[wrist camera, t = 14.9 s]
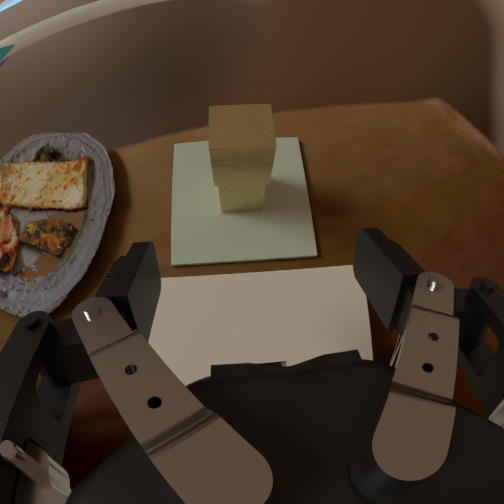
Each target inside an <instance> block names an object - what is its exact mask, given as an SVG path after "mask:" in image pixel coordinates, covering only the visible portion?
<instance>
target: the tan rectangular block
mask: <svg viewBox="0 0 504 504" xmlns="http://www.w3.org/2000/svg"><path fill="white" fill-rule="evenodd" d="M276 146H277V144H276V137H275V130H274V123H273V116H272V109H271V104H254V105H253V104H252V105H226V106H210V107H209V153H210V160H211V167H212V174H213V180H214V186H218V190H219V198H220V205H221V212H222V213H226V212H245V211H262V207H263V201H264V195H265V188H266V184H270V180H271V174H272V169H273V163H274V158H275V152H276Z"/></svg>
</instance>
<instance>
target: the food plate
mask: <svg viewBox="0 0 504 504" xmlns="http://www.w3.org/2000/svg"><path fill="white" fill-rule="evenodd" d="M79 132H80V131H53V132H44V134H43V133H41V134H35V135H32V136H30V137H28V138H26V139H24V140H23V141H21V142H20V143H19V144H17V145H16V146H14V148H12V149H11V150H10V151H9V152H8V153H6V154H5V155H4V156H3V157H1V158H0V309H1V310H3V311H6V312H7V313H10V314H13V315H15V316H16V315H18V317H21V318H22V317H24V316H25V315H27V314H29V313H31V312H34V311H45V312H47V313H48V314H49V313H50V312H52V311H53V310H54V309H55V308H57V307H58V306H59V305H60V304H61V302H62V301H63V300H64V299H65V298H66V297H67V294H68V293H69V291H70V290H72V288H73V287H74V286H75V285H76V284H77V283H78V282H79V281H80V280H81V278H82V277H83V275H84V273H85V272H86V271H87V268H88V266H89V264H90V263H91V261H92V259H93V257H94V255H95V253H96V252H97V249H98V247H99V244H100V241H101V238H102V235H103V232H104V230H105V229H104V227H105V225H106V223H107V220H108V216H109V213H110V210H111V205H112V203H113V200H114V195H115V184H114V178H113V175H114V174H113V169H112V168H113V167H112V165H111V160H110V158H109V156H108V153H107V151H106V150H105V148H104V147H103V146H102V144H101V143H100V142H99V141H97V140H96V139H94V138H92V137H91V136H90V135H89V134H87V133H79ZM93 179H94V180H93ZM84 209H86V210H85V212H84V215H83V219H82V222H81V225H80V229H79V231H78V235H77V237H76V242H75V245H74V247H73V248H72V249H71V251H70V253H69V255H68V256H66V258H65V261H64V263H60V265H59V266H58V269H57V270H56V271H55V272H52V273H49V274H48V277H46V278H44V276H41V277H38V278H35V281H37V282H36V283H32V282H33V280H32V282H29V283H27V282H26V281H27V278H24V280H26V281H25V282H23V280H21V279H20V270H22V271H23V272H24V271H25V265H26V266H27V267H29V266H31V267H32V271H36V272H37V271H38V270H36V265H35V266H34V265H33V263H34V262H35V261H36V260H38V259H37V257H42V252H41V250H43V251H46V252H48V253H50V254H53V255H54V256H56V258H60V254H61V253H62V251H63V249H64V248H67V247H68V245H69V243H70V241H71V239H72V237H71V234H72V233H73V229H72V227H71V226H70V225H68V224H67V223H66V222H64V221H61V220H58V221H57V220H54V221H52V220H51V219H48V218H47V213H48V214H49V215H52V214H59V213H60V214H61V213H63V214H66V213H67V212H68V213H70V212H76V213H78V210H84ZM13 216H15V219H14V220H13ZM33 246H34V247H33ZM30 258H31V259H30ZM45 258H46V257H45ZM23 265H24V267H23V268H22V266H23ZM38 266H39V265H38ZM38 266H37V267H38ZM54 266H56V265H54ZM33 267H35V268H34V269H33ZM17 271H18V275H16V277H14V274H16V273H17ZM39 276H40V275H39ZM17 277H18V278H19V279H18V278H17ZM7 279H10V280H9V281H8V280H7ZM31 279H33V278H31ZM17 280H18V283H17V282H16V283H14V281H17ZM28 280H29V279H28ZM20 282H22V283H25V285H24V286H23V285H20V284H19V283H20ZM17 284H19V285H18V286H17ZM10 290H12V291H10Z"/></svg>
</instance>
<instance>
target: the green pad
mask: <svg viewBox="0 0 504 504" xmlns="http://www.w3.org/2000/svg"><path fill="white" fill-rule="evenodd" d="M276 144H277V146H276V152H275V158H274V163H273V169H272V174H271V180H270V184H266V188H265V195H264V201H263V207H262V211H245V212H226V213H222V212H221V205H220V198H219V190H218V186H214V180H213V174H212V167H211V160H210V153H209V141H201V142H190V143H179V144H175V145H174V162H173V183H172V218H171V265H172V266H186V265H202V264H218V263H234V262H249V261H264V260H279V259H294V258H308V257H316V256H317V249H316V242H315V235H314V229H313V222H312V216H311V209H310V203H309V197H308V191H307V185H306V180H305V174H304V168H303V163H302V158H301V152H300V147H299V142H298V138H276Z"/></svg>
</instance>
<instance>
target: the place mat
mask: <svg viewBox="0 0 504 504" xmlns="http://www.w3.org/2000/svg"><path fill="white" fill-rule="evenodd" d="M13 46H14V45H11V46H7V47H3V48H0V60H1V59H2V58H3V57H4V56H5V55H6V54H7V53H8V52H9V50H10V49H11V48H12V47H13ZM7 59H8V57H7V58H5V59H4V60H2V61H1V62H0V67H1V65H2V64H3V63H4V62H5V61H6V60H7Z"/></svg>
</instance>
